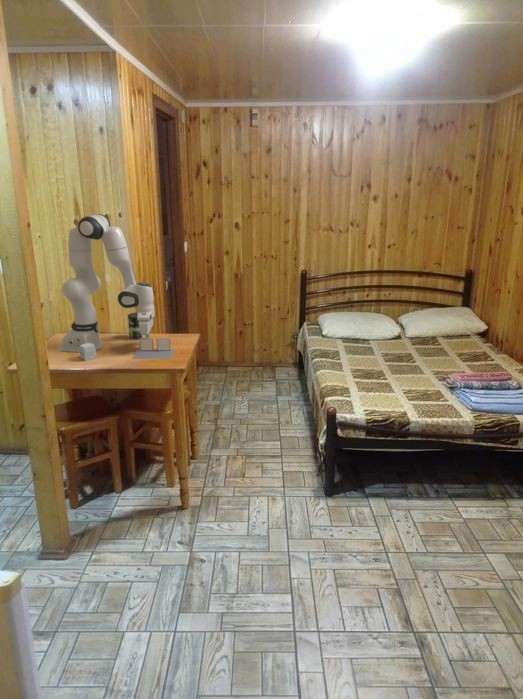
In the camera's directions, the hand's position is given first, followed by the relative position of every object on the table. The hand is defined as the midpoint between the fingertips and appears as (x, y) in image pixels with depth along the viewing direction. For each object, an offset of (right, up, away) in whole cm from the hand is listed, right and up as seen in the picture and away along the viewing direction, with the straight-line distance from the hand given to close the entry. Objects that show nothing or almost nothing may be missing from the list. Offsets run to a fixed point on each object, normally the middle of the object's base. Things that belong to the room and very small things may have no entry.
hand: (147, 338), depth 265 cm
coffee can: (-10, 0, +20) cm, 22 cm away
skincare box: (-27, -11, -13) cm, 32 cm away
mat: (+5, -9, -6) cm, 11 cm away
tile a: (0, -7, -2) cm, 7 cm away
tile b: (+9, -7, -1) cm, 11 cm away
